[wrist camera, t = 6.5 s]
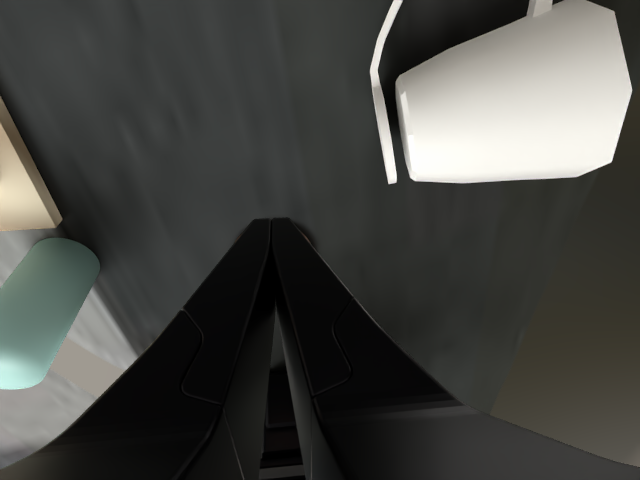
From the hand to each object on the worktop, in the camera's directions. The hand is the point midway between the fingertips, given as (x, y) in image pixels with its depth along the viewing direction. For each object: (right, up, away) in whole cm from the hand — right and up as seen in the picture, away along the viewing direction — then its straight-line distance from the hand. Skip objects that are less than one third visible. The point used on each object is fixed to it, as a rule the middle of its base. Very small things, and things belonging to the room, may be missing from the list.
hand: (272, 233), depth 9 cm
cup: (+3, +6, +7) cm, 10 cm away
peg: (-14, -1, +13) cm, 19 cm away
